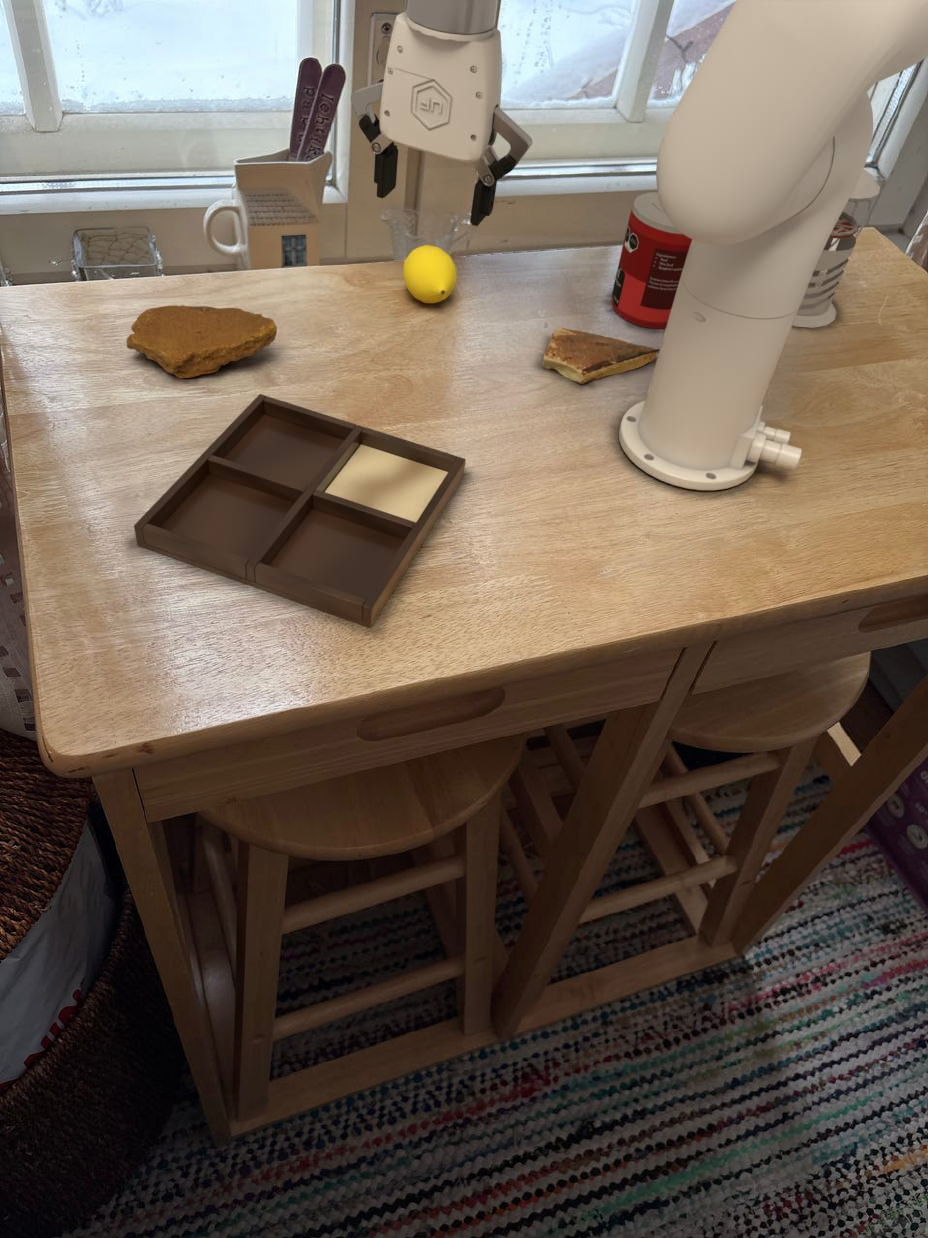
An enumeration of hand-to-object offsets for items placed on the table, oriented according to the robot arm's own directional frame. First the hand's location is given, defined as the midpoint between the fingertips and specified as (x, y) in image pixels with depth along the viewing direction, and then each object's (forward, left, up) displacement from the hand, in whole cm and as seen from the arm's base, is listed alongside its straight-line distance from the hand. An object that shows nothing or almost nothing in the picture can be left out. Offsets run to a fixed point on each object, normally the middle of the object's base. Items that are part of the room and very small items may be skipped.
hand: (432, 206), depth 95 cm
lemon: (-1, 0, -10) cm, 10 cm away
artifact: (+14, +20, -10) cm, 27 cm away
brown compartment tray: (-4, +35, -10) cm, 37 cm away
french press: (-36, -21, -10) cm, 43 cm away
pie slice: (-18, +2, -10) cm, 21 cm away
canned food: (-21, -10, -10) cm, 26 cm away
